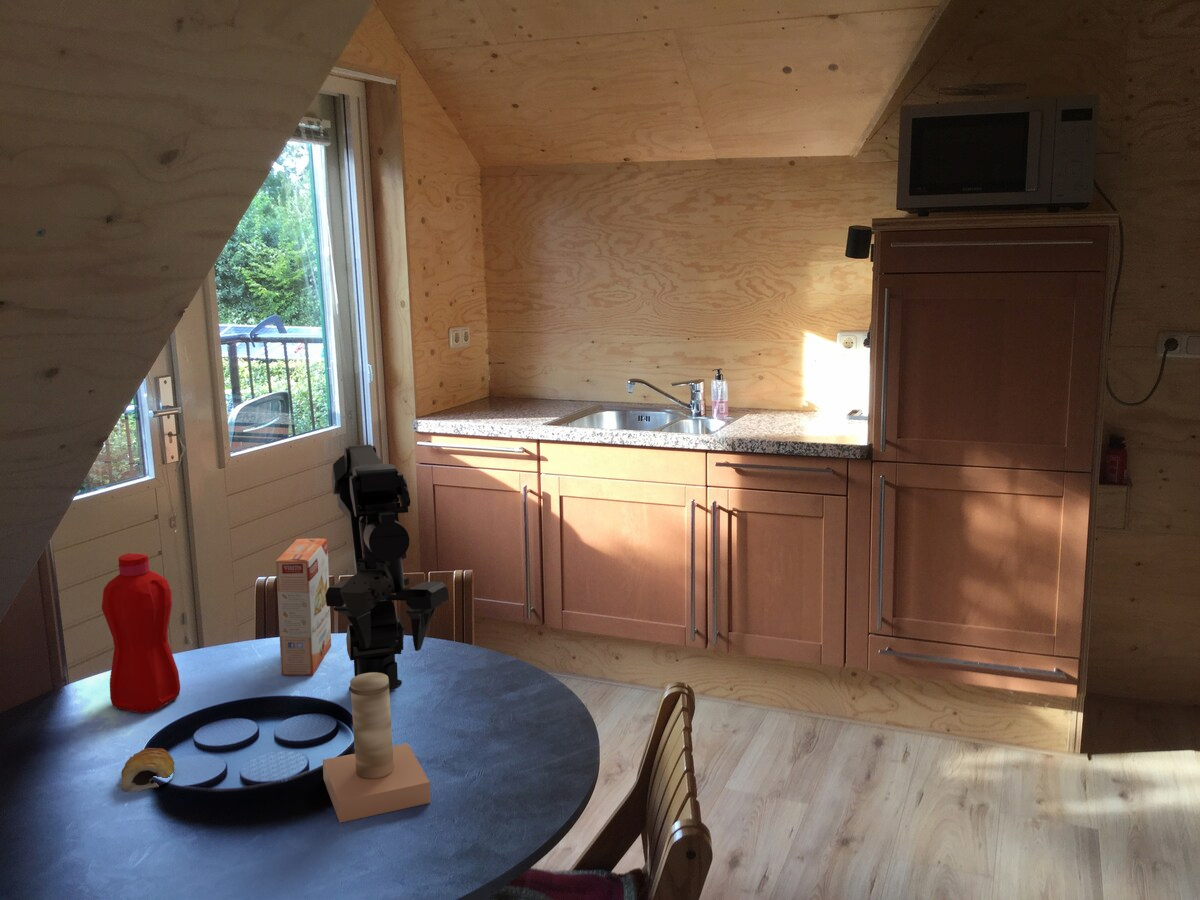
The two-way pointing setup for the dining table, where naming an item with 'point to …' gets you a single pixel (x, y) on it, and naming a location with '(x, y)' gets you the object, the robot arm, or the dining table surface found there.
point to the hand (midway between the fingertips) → (392, 648)
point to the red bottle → (140, 637)
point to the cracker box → (303, 606)
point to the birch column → (372, 725)
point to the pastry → (146, 769)
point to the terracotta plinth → (375, 786)
